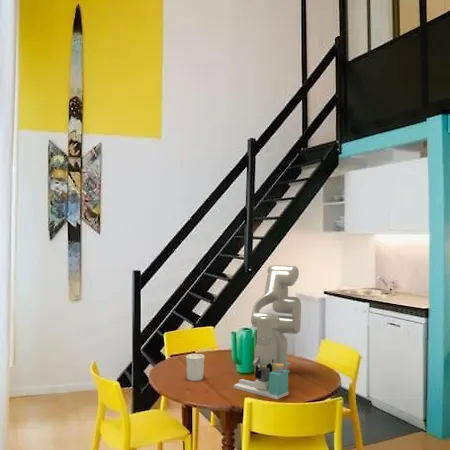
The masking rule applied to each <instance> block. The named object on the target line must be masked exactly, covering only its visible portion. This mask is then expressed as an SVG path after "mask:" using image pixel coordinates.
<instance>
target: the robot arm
mask: <svg viewBox="0 0 450 450" xmlns="http://www.w3.org/2000/svg"><path fill="white" fill-rule="evenodd" d="M299 272H300V270H299V269H298V267H297V266H295V265H285V264H284V265H281V264H274V265H269V266H268V267H267V276H266V277H267V278H266V284H265V288H264V293H263V295H262V296H261V297H259V298H258V299H257V301H256V302H255V303H254V305H253V306H252V307H253V308H252V313H251V317H250V320H251V321H250V322H251V325H252V327H254V328H256V345H255V349H254V358H253V362H252V365H253V369H254V368H255V371H254V378H256V379H257V380H258V379H261V367H262V366H264V365H266V368H270V370H269V373H270V372H272V366H273V363H274V364H275V363H283V364H284V367H283V368H282V370H287V371H288V375H289V374H290V373H291V372H290V371H291V370H290V369H289V368H288V367H290V366H291V362H289V361H288V339H287V337H286V335H285V334H290V335H292V334H293V335H298V334H299V333H300V331H301V325H302V324H301V323H302V322H301V320H302V319H301V318H302V303H301V300H300V299H301V298H299V297H298V296H290V295H289V287H292V286H293V287H294V285H296V282H297V281H298V278H299V276H300V275H299V274H300V273H299ZM270 304H272V310H273V312H274V313H271V312H270V313H269V312H260V310H261V309H262V308H263V307H265V306H267V305H270ZM279 314H289V315H290V316H289V315H279ZM258 366H259V367H258Z"/></svg>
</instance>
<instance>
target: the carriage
mask: <svg viewBox="0 0 450 450" xmlns="http://www.w3.org/2000/svg"><path fill="white" fill-rule="evenodd" d="M269 370H270V368H266V367H261V379H258V378H257V379H256V380H254V382H255V385H256V388H260V389H264V390H267V386H269Z"/></svg>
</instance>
